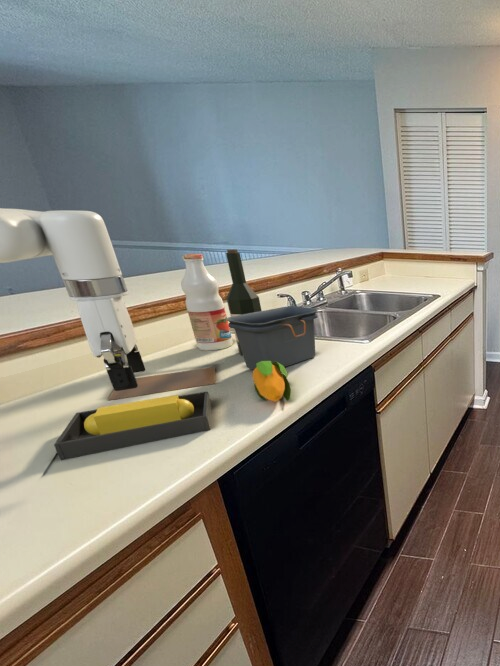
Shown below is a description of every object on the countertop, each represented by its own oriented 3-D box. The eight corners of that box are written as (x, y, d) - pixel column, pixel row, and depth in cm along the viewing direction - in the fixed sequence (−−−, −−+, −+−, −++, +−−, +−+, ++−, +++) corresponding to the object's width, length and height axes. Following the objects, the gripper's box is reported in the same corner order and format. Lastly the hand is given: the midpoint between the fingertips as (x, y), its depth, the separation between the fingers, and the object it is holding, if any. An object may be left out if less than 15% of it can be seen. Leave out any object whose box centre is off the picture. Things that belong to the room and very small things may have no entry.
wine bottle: (242, 348, 131) (219, 248, 120) (272, 347, 134) (252, 248, 122) (235, 357, 124) (209, 251, 113) (267, 355, 126) (245, 250, 115)
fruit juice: (198, 344, 135) (173, 253, 124) (233, 340, 139) (212, 252, 129) (197, 352, 127) (170, 256, 117) (233, 348, 132) (210, 255, 121)
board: (108, 401, 94) (107, 400, 94) (119, 381, 105) (119, 380, 105) (214, 384, 105) (214, 383, 104) (215, 368, 115) (215, 366, 115)
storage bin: (297, 349, 132) (288, 304, 127) (335, 356, 127) (328, 309, 121) (232, 370, 114) (219, 318, 108) (273, 379, 108) (262, 325, 103)
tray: (61, 463, 72) (53, 444, 70) (83, 429, 83) (76, 412, 81) (211, 432, 83) (206, 416, 81) (212, 405, 94) (208, 391, 92)
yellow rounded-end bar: (86, 443, 77) (76, 419, 75) (92, 433, 80) (82, 410, 78) (196, 422, 85) (189, 400, 83) (197, 414, 88) (190, 392, 86)
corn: (279, 351, 105) (291, 375, 90) (287, 379, 109) (300, 407, 93) (245, 358, 102) (252, 384, 86) (254, 386, 105) (263, 417, 90)
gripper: (80, 282, 77) (114, 370, 84) (51, 298, 64) (93, 401, 70) (133, 279, 81) (161, 363, 87) (116, 294, 67) (150, 391, 74)
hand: (131, 380), depth 79 cm, fingers open, 9 cm apart
